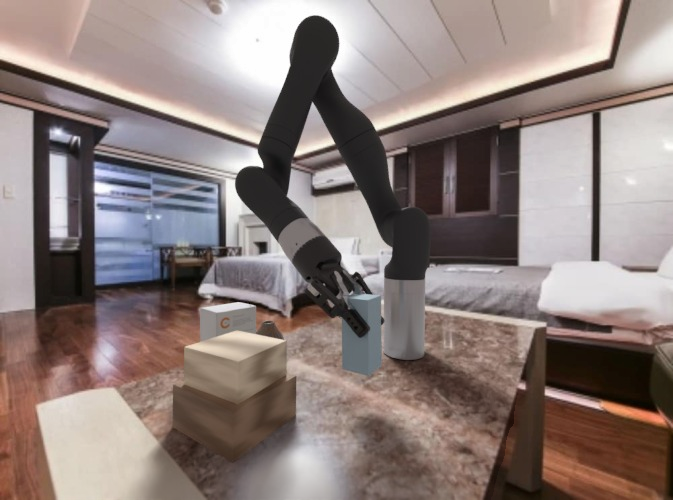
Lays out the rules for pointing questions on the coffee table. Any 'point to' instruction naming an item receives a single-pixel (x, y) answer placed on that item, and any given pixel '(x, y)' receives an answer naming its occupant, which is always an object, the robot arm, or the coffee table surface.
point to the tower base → (233, 416)
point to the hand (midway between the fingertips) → (373, 329)
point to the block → (368, 349)
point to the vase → (269, 330)
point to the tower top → (235, 364)
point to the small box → (227, 319)
